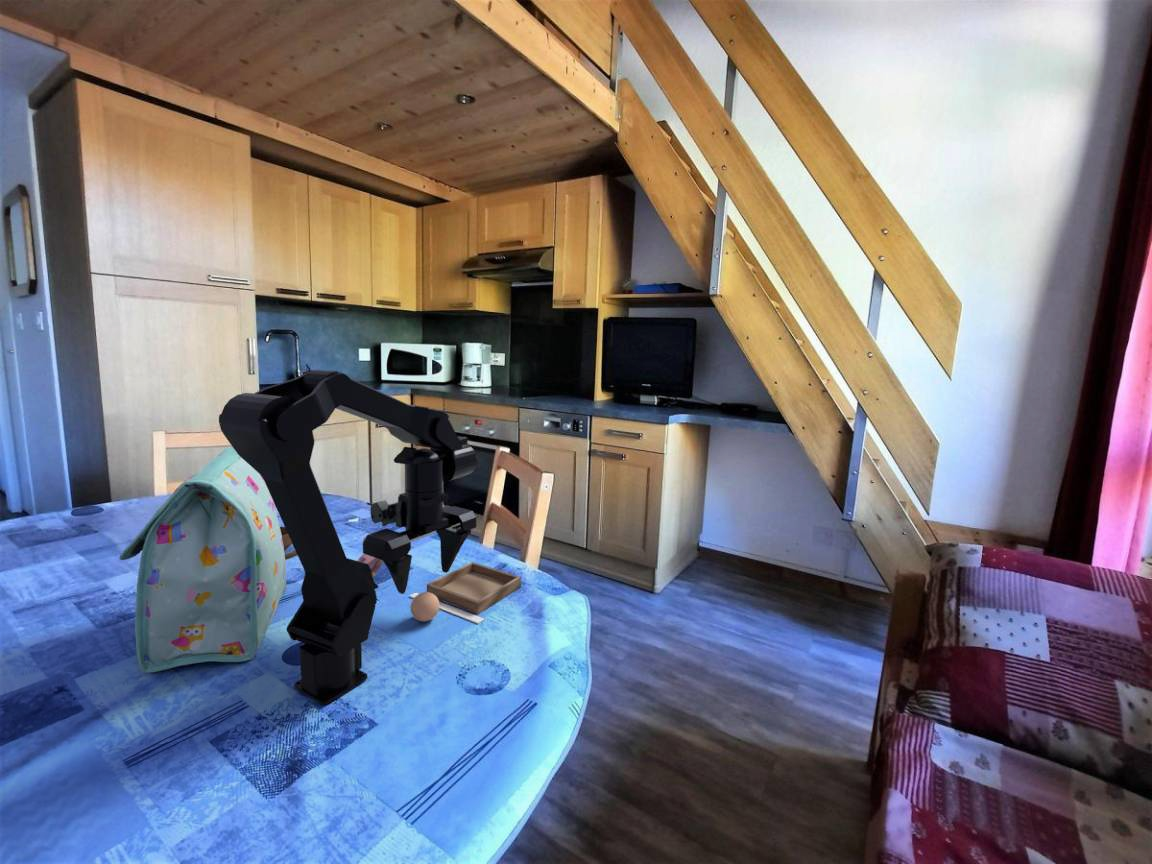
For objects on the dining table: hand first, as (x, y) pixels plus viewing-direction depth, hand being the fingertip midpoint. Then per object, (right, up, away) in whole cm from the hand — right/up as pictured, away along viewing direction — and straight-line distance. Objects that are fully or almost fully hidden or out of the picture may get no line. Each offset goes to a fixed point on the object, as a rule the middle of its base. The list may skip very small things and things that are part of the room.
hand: (424, 581), depth 81 cm
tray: (+6, -5, +11) cm, 14 cm away
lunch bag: (-30, -6, -4) cm, 31 cm away
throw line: (+2, -6, +5) cm, 8 cm away
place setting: (-43, -2, +24) cm, 49 cm away
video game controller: (-16, -4, +13) cm, 21 cm away
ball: (0, -6, +1) cm, 7 cm away
